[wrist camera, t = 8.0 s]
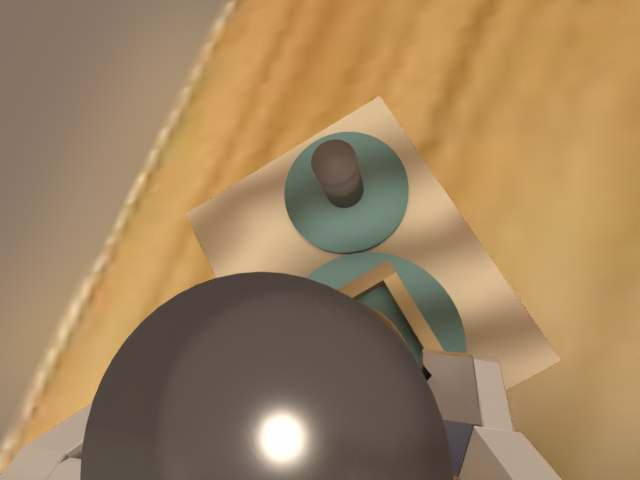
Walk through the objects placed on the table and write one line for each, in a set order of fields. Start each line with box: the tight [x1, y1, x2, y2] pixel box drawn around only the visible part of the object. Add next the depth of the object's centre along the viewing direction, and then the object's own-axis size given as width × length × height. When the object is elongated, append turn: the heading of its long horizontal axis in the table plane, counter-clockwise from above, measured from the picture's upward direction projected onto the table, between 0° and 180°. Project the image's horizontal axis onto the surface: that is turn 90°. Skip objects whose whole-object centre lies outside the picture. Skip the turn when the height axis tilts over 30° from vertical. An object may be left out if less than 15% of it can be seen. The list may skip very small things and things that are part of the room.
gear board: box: [186, 96, 561, 390], centre depth 24 cm, size 20×16×7 cm
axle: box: [80, 272, 453, 480], centre depth 10 cm, size 4×4×11 cm
